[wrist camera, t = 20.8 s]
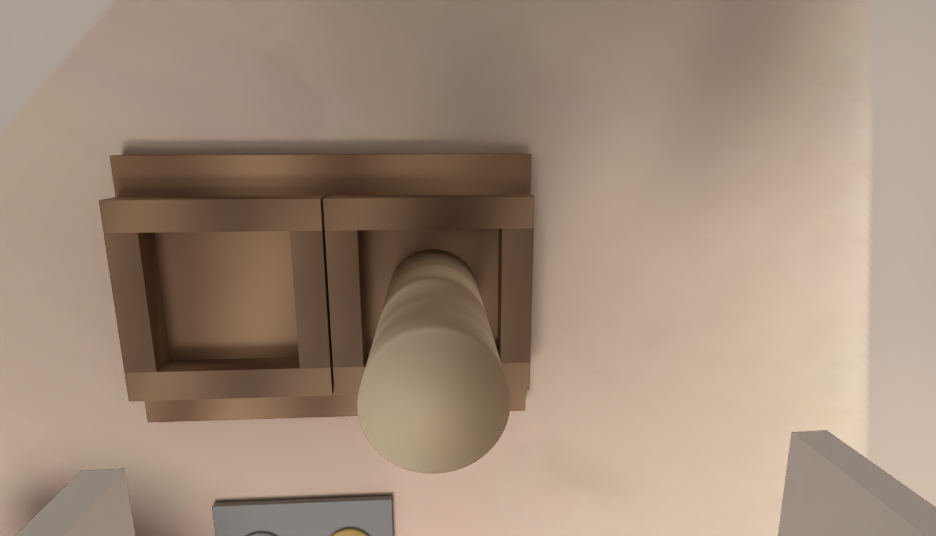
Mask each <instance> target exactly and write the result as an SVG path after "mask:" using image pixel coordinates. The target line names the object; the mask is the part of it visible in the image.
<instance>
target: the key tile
mask: <svg viewBox="0 0 936 536" xmlns="http://www.w3.org/2000/svg"><path fill="white" fill-rule="evenodd" d="M212 509H213V518H214V526H215V535H216V536H393V517H392V496H367V497H342V498H317V499H291V500H266V501H241V502H215V503H214V505H213V506H212Z"/></svg>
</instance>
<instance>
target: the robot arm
mask: <svg viewBox="0 0 936 536" xmlns="http://www.w3.org/2000/svg"><path fill="white" fill-rule="evenodd" d="M15 536H135V531H134V525H133V518H132V512H131V506H130V500H129V493H128V487H127V481H126V474H125V469H107V470H88V471H81V472H80V473H79V474H78V475H77V476H75V477H74V478H73V479H72V480H71V481H70V482H69V483H68V484H67V485H66V486H65V487H64V488H63V489H62V490H61V491H60V492H59V493H58V494H57V495H56V496H55V497H54V498H53V499H52V500H51V501H50V502H49V503H48V504H47V505H46V506H45V507H44V508H43V509H42V510H41V511H40V512H39V513H38V514H37V515H36V516H35V517H34V518H33V519H32V520H31V521H30V522H29V523H28V524H27V525H26V526H25V527H24V528H22V529H21V530H20V531H19V532H18V533H17V534H16V535H15ZM778 536H936V507H935V506H933V505H932V504H930V503H929V502H928V501H926V500H925V499H923V498H922V497H921V496H919V495H918V494H916V493H915V492H913V491H912V490H911V489H909V488H908V487H906V486H905V485H903V484H902V483H901V482H899V481H898V480H896V479H895V478H894V477H892V476H891V475H889V474H888V473H886V472H885V471H884V470H882V469H881V468H879V467H878V466H876V465H875V464H874V463H872V462H871V461H870V460H868V459H867V458H865V457H864V456H862V455H861V454H860V453H858V452H857V451H855V450H854V449H852V448H851V447H850V446H848V445H847V444H845V443H844V442H843V441H841V440H840V439H838V438H837V437H835V436H834V435H833V434H831V433H830V432H828V431H827V430H822V431H804V432H792V433H791V441H790V448H789V456H788V463H787V471H786V478H785V486H784V494H783V501H782V509H781V516H780V524H779V531H778Z"/></svg>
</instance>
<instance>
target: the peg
mask: <svg viewBox="0 0 936 536" xmlns="http://www.w3.org/2000/svg"><path fill="white" fill-rule="evenodd" d="M357 408H358V417H359V421H360V424H361V427H362V430H363V432H364V434H365V436H366V438H367V439H368V441H369V442H370V444H371V445H372V446H373V447H374V449H375V450H376V451H377V452H378V453H379V454H381V455H382V456H383V457H384V458H386V459H387V460H388V461H390V462H392V463H393V464H395V465H397V466H399V467H402V468H404V469H407V470H411V471H414V472H420V473H433V474H435V473H445V472H450V471H455V470H458V469H461V468H464V467H466V466H468V465H470V464H472V463H474V462H475V461H477V460H478V459H480V458H481V457H483V456H484V455H485V454H486V453H487V452H488V451H489V450H490V449H491V448H492V447H493V446H494V445H495V444H496V442H497V441H498V440H499V438H500V436H501V435H502V433H503V431H504V429H505V426H506V424H507V421H508V416H509V411H510V393H509V388H508V384H507V380H506V377H505V374H504V371H503V367H502V364H501V361H500V358H499V354H498V351H497V348H496V345H495V341H494V338H493V335H492V332H491V328H490V325H489V322H488V319H487V315H486V312H485V309H484V306H483V302H482V299H481V296H480V293H479V289H478V286H477V283H476V280H475V277H474V275H473V273H472V271H471V269H470V268H469V266H468V265H467V264H466V263H465V262H464V261H463V260H462V259H461V258H459V257H458V256H456V255H454V254H452V253H450V252H447V251H444V250H437V249H429V250H423V251H419V252H417V253H414V254H412V255H410V256H409V257H407V258H406V259H405V260H404V261H402V262H401V264H400V265H399V266H398V267H397V269H396V270H395V272H394V274H393V276H392V279H391V282H390V285H389V288H388V292H387V295H386V299H385V302H384V306H383V309H382V312H381V316H380V319H379V323H378V326H377V330H376V333H375V336H374V340H373V343H372V347H371V350H370V354H369V357H368V360H367V364H366V367H365V371H364V374H363V378H362V381H361V385H360V388H359V393H358V403H357Z"/></svg>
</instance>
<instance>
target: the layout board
mask: <svg viewBox="0 0 936 536" xmlns="http://www.w3.org/2000/svg"><path fill="white" fill-rule="evenodd" d="M110 161H111V168H112V175H113V182H114V189H115V196H116V197H114V198H109V199H104V200H99V205H100V211H101V218H102V225H103V231H104V238H105V245H106V251H107V258H108V265H109V272H110V278H111V285H112V292H113V298H114V305H115V312H116V318H117V325H118V332H119V338H120V345H121V352H122V359H123V365H124V372H125V379H126V385H127V392H128V399H129V401H145V406H146V413H147V420H148V422H174V421H207V420H239V419H271V418H304V417H336V416H358V408H357V403H358V393H359V388H360V385H361V381H362V378H363V374H364V371H365V367H366V364H367V360H368V357H369V354H370V350H371V347H372V343H373V340H374V336H375V333H376V330H377V326H378V323H379V319H380V316H381V312H382V309H383V306H384V302H385V299H386V295H387V292H388V288H389V285H390V282H391V279H392V276H393V274H394V272H395V270H396V269H397V267H398V266H399V265H400V264H401V262H402V261H404V260H405V259H406V258H407V257H409V256H410V255H412V254H414V253H417V252H419V251H423V250H429V249H437V250H444V251H447V252H450V253H452V254H454V255H456V256H458V257H459V258H461V259H462V260H463V261H464V262H465V263H466V264H467V265H468V266H469V268H470V269H471V271H472V273H473V275H474V277H475V280H476V283H477V286H478V289H479V293H480V296H481V299H482V302H483V306H484V309H485V312H486V315H487V319H488V322H489V325H490V328H491V332H492V335H493V338H494V341H495V345H496V348H497V351H498V354H499V358H500V361H501V364H502V367H503V371H504V374H505V377H506V380H507V384H508V388H509V393H510V411H525V391H526V390H529V384H530V344H531V304H532V265H533V225H534V197H533V196H532V195H530V178H531V154H334V155H115V156H110Z"/></svg>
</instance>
